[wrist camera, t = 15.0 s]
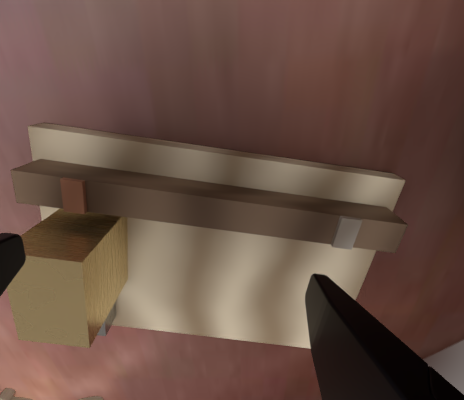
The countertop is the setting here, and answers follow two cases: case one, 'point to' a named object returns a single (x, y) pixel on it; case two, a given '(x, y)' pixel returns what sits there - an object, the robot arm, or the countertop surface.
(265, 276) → the board
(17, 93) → the countertop surface
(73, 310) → the tan box
